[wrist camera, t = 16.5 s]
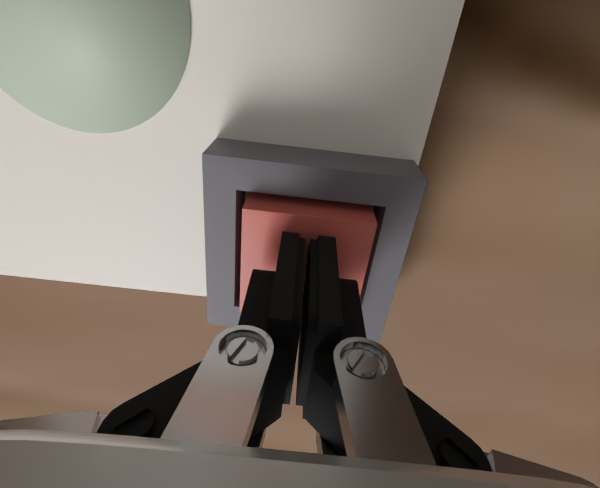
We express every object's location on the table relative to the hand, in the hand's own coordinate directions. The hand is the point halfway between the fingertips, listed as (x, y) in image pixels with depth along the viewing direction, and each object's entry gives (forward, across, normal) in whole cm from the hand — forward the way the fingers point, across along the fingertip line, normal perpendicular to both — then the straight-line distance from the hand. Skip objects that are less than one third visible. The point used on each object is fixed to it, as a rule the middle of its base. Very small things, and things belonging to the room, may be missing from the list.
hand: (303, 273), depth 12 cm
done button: (+2, 0, 0) cm, 2 cm away
